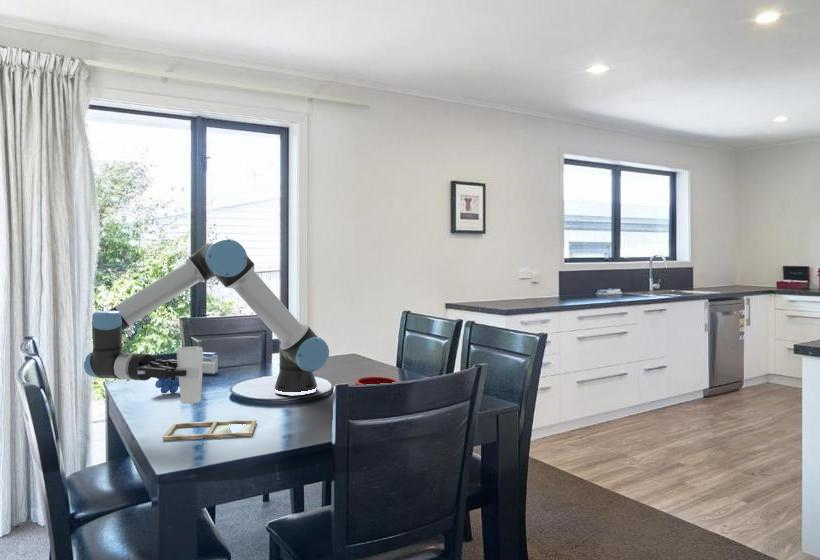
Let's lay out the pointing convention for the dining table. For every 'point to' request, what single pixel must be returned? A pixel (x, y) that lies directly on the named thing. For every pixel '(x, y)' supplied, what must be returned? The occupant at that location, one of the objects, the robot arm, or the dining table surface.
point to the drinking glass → (190, 386)
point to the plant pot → (374, 380)
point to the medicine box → (211, 360)
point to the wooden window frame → (213, 429)
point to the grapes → (168, 384)
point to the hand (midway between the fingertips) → (206, 370)
